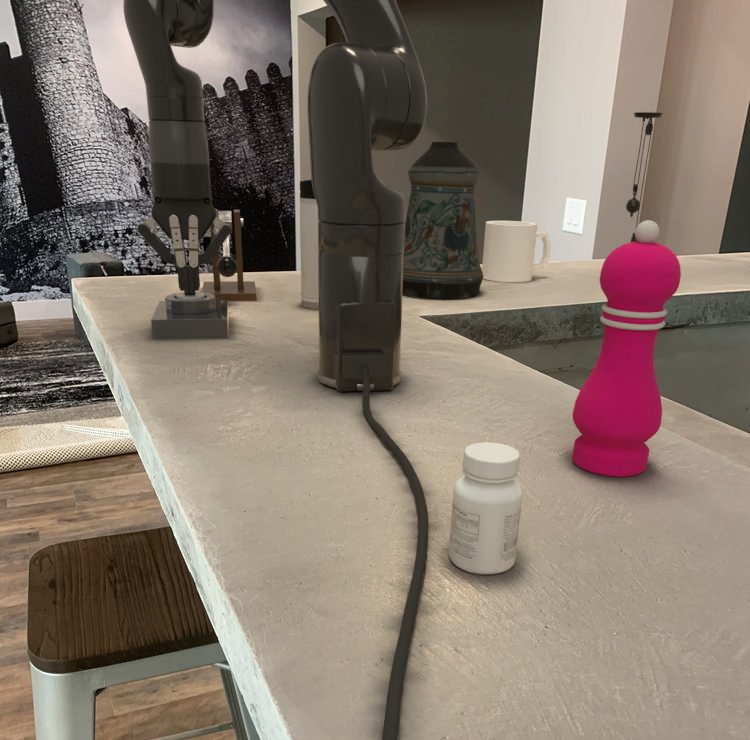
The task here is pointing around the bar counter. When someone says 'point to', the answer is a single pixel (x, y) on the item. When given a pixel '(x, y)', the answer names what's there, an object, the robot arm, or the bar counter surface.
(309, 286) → the travel mug
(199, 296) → the flush button
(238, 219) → the pendulum stand
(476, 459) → the pill bottle
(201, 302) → the button base
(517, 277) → the mug
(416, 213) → the beer stein
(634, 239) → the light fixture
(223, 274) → the flush lever
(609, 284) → the pepper mill
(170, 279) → the bar counter surface
